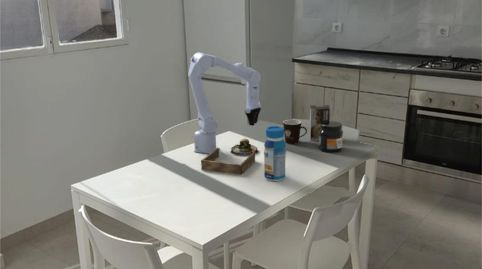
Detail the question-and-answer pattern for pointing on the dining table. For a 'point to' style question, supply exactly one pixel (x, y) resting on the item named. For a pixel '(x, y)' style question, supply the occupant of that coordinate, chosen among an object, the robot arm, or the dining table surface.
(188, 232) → the dining table surface
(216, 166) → the box
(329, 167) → the dining table surface
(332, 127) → the supplement container
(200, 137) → the robot arm
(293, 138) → the coffee mug
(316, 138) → the coffee box
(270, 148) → the beverage bottle
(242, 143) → the burger
